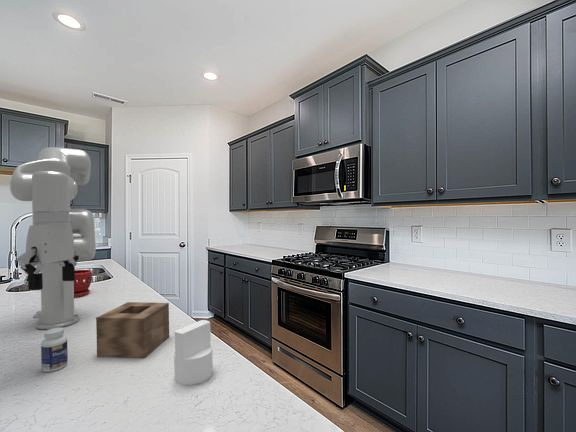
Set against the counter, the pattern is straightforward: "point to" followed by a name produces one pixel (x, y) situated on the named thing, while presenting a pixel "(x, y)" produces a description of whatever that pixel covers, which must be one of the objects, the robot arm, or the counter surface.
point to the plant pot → (82, 282)
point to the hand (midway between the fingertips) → (53, 285)
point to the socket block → (132, 329)
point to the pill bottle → (54, 350)
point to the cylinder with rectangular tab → (193, 353)
